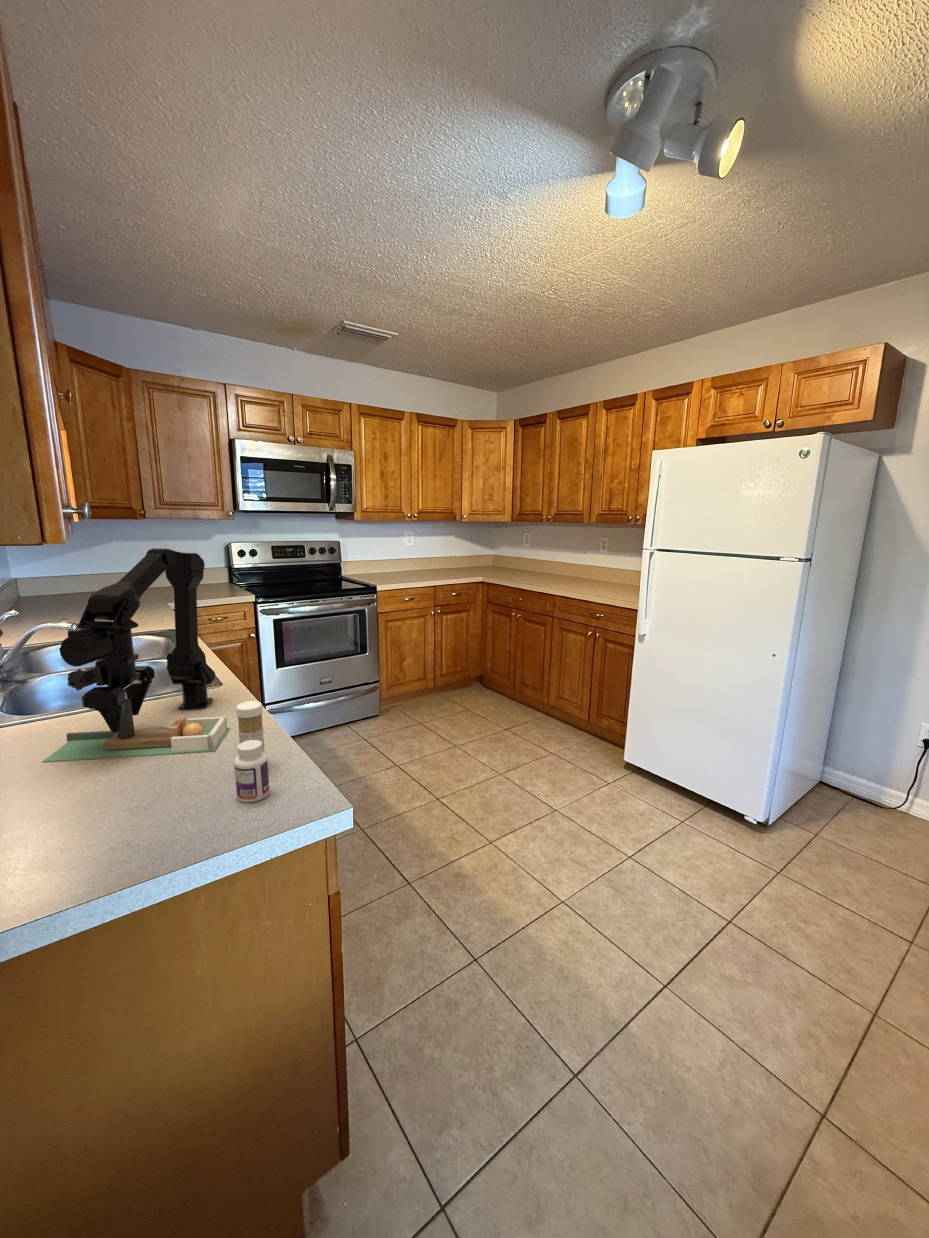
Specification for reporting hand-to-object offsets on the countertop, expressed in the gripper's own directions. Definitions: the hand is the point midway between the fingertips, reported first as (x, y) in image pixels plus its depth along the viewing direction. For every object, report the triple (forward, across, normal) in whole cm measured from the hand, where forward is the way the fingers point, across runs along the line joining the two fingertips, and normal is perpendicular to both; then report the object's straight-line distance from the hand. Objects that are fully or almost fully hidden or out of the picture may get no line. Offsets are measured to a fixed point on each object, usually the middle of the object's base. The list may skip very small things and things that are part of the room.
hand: (125, 723), depth 107 cm
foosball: (+3, 0, +13) cm, 13 cm away
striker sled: (+5, 0, +4) cm, 6 cm away
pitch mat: (+5, 0, +3) cm, 6 cm away
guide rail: (+5, -4, -2) cm, 7 cm away
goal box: (+5, 0, +14) cm, 15 cm away
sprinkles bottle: (+5, +15, +28) cm, 33 cm away
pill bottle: (+5, +25, +30) cm, 40 cm away
